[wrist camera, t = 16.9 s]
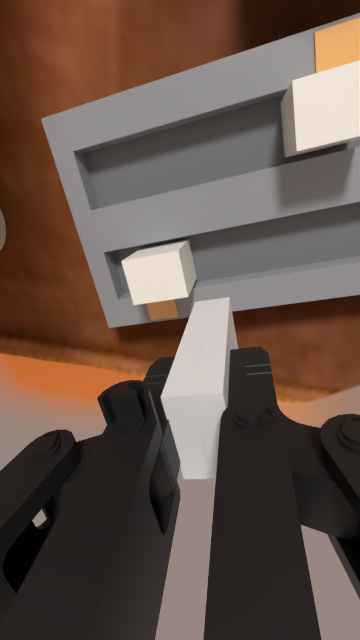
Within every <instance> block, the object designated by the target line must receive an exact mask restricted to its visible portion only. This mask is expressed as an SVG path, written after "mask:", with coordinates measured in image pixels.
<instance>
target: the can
mask: <svg viewBox="0 0 360 640" xmlns="http://www.w3.org/2000/svg"><path fill="white" fill-rule="evenodd" d="M5 239H6V224H5V219H4V216H3V213H2V211H1V209H0V251H1V249H2V248H3V246H4V243H5Z"/></svg>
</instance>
